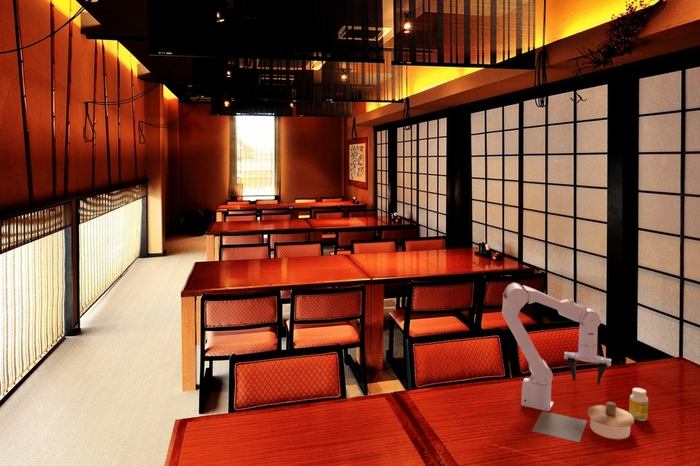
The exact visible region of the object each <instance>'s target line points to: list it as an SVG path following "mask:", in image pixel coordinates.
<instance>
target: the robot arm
mask: <svg viewBox="0 0 700 466" xmlns="http://www.w3.org/2000/svg"><path fill="white" fill-rule="evenodd" d="M533 303H539V304H541V305H543V306H547V307H549V308H551V309H554V310H557V312H558V315H559V316H562V317H565V318H567V319H569V320H572V321H573V322H577V323H579V329H578V330H579V331H578V351H577V352H570V351H564V354H563V355H564V356H563V359H564V360H565V359H566V360H567V361H566V363H567V365H568V368H569V369H570V373H571V376H572V381H574V382H575V381H576V379H577V361H582V362H585V363H593V364H598V365H597V380H596V381H597V382H596V385H597V386H600V385H601V381H602V377H603V374H604V373H605V372H606V369H607V367H611V366H612V358H608V357H603V356H600V355H597V354H598V353H597V352H598V334H599V333H598V332H599V331H598V328H599V326H600V325H601V322H602V320H601V317H600V315H599V313H597V312H596V311H595V309H592V308H591V307H589V306H587V305H585V304H584V305H581V304H578V303H576V302H575V300H574V299H571V298H569V299H562V300H560V299H557V298H555V297H552V296H550V295H549V294H546V293H544V292H541V291H540V290H537V289H535V288H532V287H530V286H527V285H524V284H523V285H521V284H520V283H517V282H512V283H510V284H508V285H507V286H506V288H505V289H504V292H503V294H502V306H501V307H502V308H501V315H502V317H503V319H504V320H505V322H506V324H507V326H508V328H509V330H510V331H511V333H512V335H513V336H514V339H515V341H516V342H517V345H518V346H519V348H520V350H521V352H522V353H523V355H524V357H525V359H526V360H527V363H528V370H529V371H530V373H531V374H530V376H529V377H525V378H523V381H522V384H521V404H520V406H523V407H528V408H533V409H537V410H541V411H545V412H549V411H550V410H551V409H552V407H553V405H554V403H555V402H554V401H552V398H551V397H552V380H553V377H554V375H553V372H552V369H550V367H549V366H548V363H547V362H546V360H544V359H542V357H541V356H540V354H539V352H538V350H537V348H536V347H535V345H534V343H533V342H532V339H531V337H530V336H529V334H528V332H527V330H526V329H525V327H524V325H523V323H522V322H521V319H520V318H519V314H520V311H521V309H522V308H523V307H524V306H525V305H526V304H529V305H531V304H533Z"/></svg>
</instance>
